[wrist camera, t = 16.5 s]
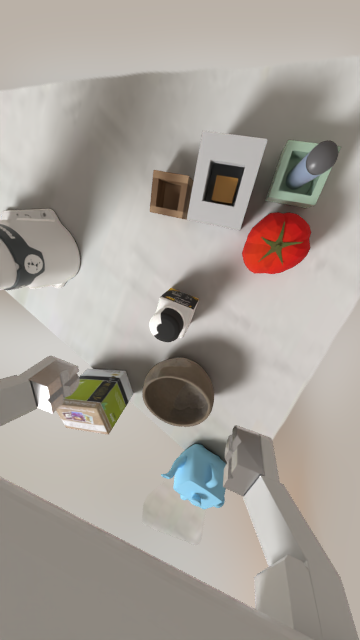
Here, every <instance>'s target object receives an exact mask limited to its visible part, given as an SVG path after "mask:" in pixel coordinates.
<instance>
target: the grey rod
mask: <svg viewBox="0 0 360 640" xmlns="http://www.w3.org/2000/svg"><path fill="white" fill-rule="evenodd" d="M337 157H338V147H337V145H336V144H335V143H334V142H332V141H324V142H321V143H319V144H318V145H317V146H315V147H314V148H313V149H312V150H311V151H310V152H309V153H308V154H307V155H306V156H305V157H304V158H303V159H302V160H301V161H300V162H299V163H298V164H297V165H296V166H295V167H294V168H293V169H292V170H291V171H290V172H289V173H288V175H287V177H286V185H287V187H288V188H290V189H297V188H299V187H301V186H303V185H304V184H306V183H308V182H309V181H311V180H313V179H314V178H316V177H318V176H319V175H321V174H323V173H324V172H326V171H328V170H329V169H330V168H331V167H332V166H333V165H334V163H335V162H336V160H337Z"/></svg>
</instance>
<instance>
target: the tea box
mask: <svg viewBox="0 0 360 640" xmlns="http://www.w3.org/2000/svg"><path fill="white" fill-rule="evenodd" d="M79 379H80V382H79V386H78V387H77V389H76V391H75V392H74V393H73V394H72V395H71V396H68V397H65V399H64V403H63V404H62V405H61V406H60V407H59V408H58V409H57V410H56V411H57V412H58V414H59V416H60V418H61V419H62V421H63V423H64V424H65V426H66V428H71V429H78V430H84V431H90V432H96V433H103V434H109V433H110V431H111V430H112V428H113V426H114V425H115V423H116V422H117V420H118V418H119V417H120V415H121V413H122V412H123V410H124V408H125V407H126V405H127V404H128V402H129V400H130V399H131V397H132V395H133V391H132V388H131V385H130V382H129V379H128V376H127V373H126V371H120V370H101V369H87V370H86V371H85V372H84V373H83V374H82V375H81V376H80V377H79Z"/></svg>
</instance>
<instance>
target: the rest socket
mask: <svg viewBox="0 0 360 640" xmlns="http://www.w3.org/2000/svg"><path fill="white" fill-rule="evenodd" d="M317 145H318V144H317V143H310V142H302V141H294V140H288V141H287V143H286V145H285V147H284V149H283V150H282V153H281V156H280V159H279V162H278V165H277V168H276V171H275V174H274V177H273V180H272V183H271V186H270V189H269V192H268V195H267V197H266V200H265V201H270V202H276V203H281V204H287V205H292V206H298V207H303V208H308V207H311V206H314V205H315V204H316V202H317V200H318V197H319V195H320V193H321V191H322V189H323V186H324V184H325V182H326V180H327V177H328V175H329V173H330V171H331V168H332V167H331V168H330V169H329V170H328V171H326V172H324V173H323V174H321V175H319V176H318V177H316V178H314V179H313V180H311V181H309V182H308V183H306V184H304V185H303V186H301V187H299V188H297V189H290V188H288V187H287V185H286V177H287V175H288V173H289V172H290V171H291V170H292V169H293V168H294V167H295V166H296V165H297V164H298V163H299V162H300V161H301V160H302V159H303V158H304V157H305V156H306V155H307V154H308V153H309V152H310V151H311V150H312V149H313V148H314V147H315V146H317ZM337 147H338V153H339V151H340V148H341V147H340V146H337Z"/></svg>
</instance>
